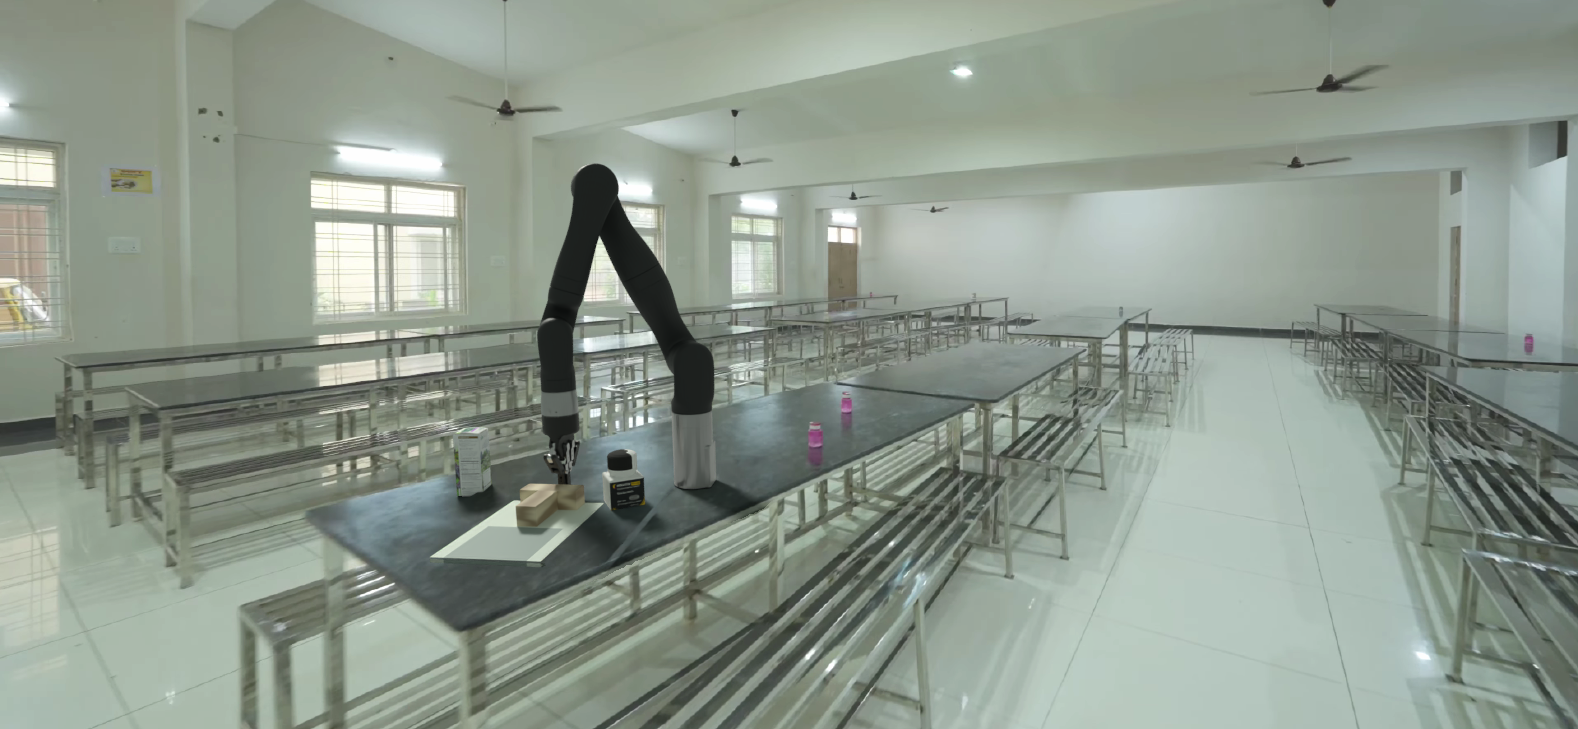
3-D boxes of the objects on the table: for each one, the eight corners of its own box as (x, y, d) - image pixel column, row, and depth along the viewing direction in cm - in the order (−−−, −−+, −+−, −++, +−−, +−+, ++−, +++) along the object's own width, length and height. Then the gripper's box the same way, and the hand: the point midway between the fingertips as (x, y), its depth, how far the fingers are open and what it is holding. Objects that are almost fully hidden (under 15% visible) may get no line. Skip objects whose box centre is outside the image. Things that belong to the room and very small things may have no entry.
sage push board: (604, 507, 140) (604, 503, 139) (541, 567, 112) (540, 561, 112) (514, 504, 142) (513, 500, 142) (430, 562, 114) (429, 557, 114)
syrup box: (466, 488, 153) (461, 427, 151) (493, 487, 153) (488, 426, 151) (456, 497, 147) (451, 433, 145) (484, 496, 148) (479, 432, 145)
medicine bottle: (611, 515, 135) (608, 458, 134) (603, 504, 142) (600, 449, 140) (645, 509, 139) (643, 453, 137) (636, 498, 145) (634, 445, 143)
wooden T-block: (584, 503, 139) (583, 485, 139) (556, 527, 127) (555, 507, 126) (530, 501, 141) (529, 483, 140) (497, 525, 128) (495, 505, 127)
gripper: (562, 418, 134) (567, 500, 137) (589, 404, 147) (593, 480, 150) (527, 417, 135) (533, 499, 138) (557, 404, 148) (562, 479, 151)
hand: (564, 489), depth 144 cm, fingers closed
